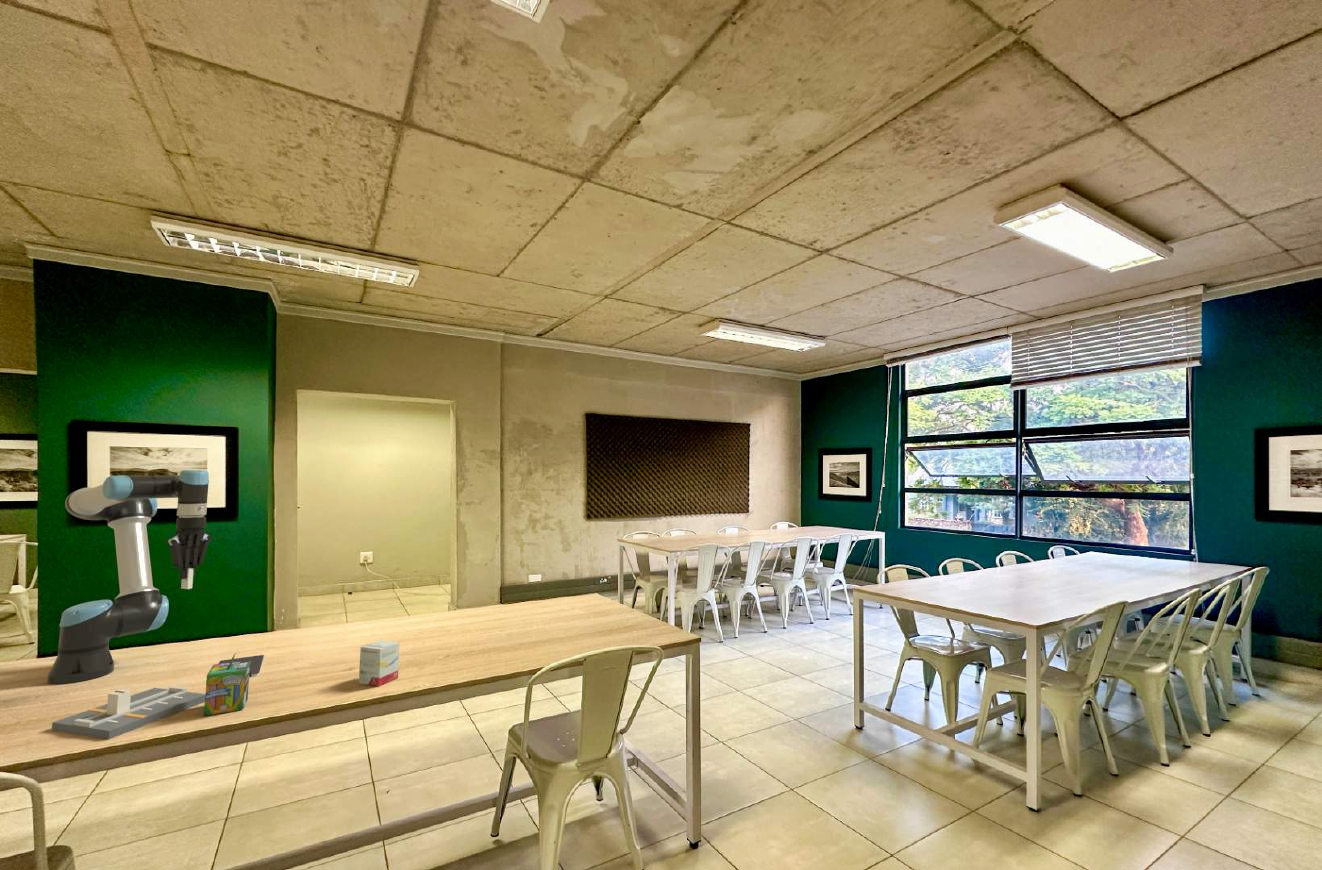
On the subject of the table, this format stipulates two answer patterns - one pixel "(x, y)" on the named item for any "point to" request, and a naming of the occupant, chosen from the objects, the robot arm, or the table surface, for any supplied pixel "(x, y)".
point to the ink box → (379, 663)
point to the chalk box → (227, 687)
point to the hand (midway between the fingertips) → (186, 588)
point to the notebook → (254, 666)
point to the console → (130, 713)
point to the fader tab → (118, 702)
